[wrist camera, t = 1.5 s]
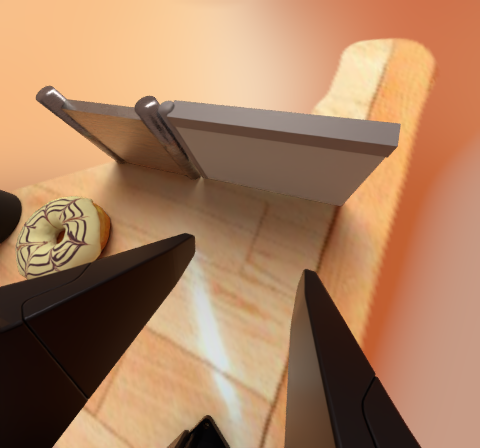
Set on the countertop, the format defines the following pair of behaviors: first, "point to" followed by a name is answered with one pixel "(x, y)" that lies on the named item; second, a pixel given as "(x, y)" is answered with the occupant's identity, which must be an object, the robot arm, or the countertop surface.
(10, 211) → the bottle
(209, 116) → the gate leaf
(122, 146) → the gate frame
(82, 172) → the countertop surface
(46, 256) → the decorated donut
